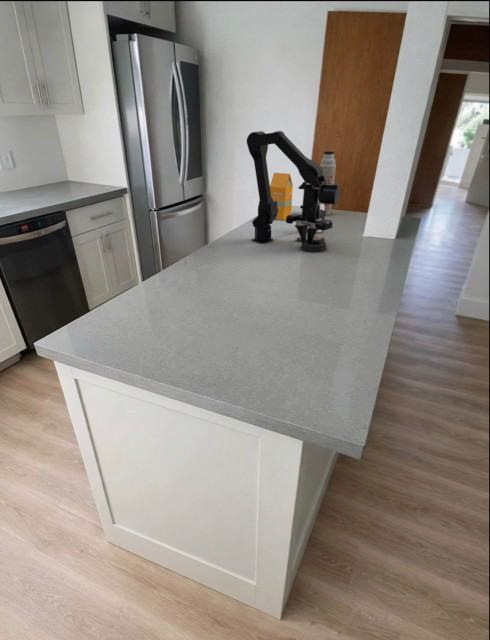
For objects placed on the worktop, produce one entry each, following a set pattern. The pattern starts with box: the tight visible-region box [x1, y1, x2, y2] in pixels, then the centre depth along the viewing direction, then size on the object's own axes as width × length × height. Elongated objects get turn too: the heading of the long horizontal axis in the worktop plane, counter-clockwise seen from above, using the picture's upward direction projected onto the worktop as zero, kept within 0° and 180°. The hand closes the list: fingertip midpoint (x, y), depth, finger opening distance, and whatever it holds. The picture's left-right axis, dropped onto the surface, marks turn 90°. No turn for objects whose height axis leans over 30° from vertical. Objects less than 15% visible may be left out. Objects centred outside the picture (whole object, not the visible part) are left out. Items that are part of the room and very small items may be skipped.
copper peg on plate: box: [296, 224, 325, 243], centre depth 175 cm, size 8×8×8 cm
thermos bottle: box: [318, 150, 337, 216], centre depth 209 cm, size 8×8×28 cm
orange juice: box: [269, 172, 294, 221], centre depth 205 cm, size 8×9×20 cm
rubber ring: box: [300, 240, 327, 253], centre depth 167 cm, size 9×10×2 cm
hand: (306, 244), depth 169 cm, fingers closed on rubber ring, 2 cm apart
